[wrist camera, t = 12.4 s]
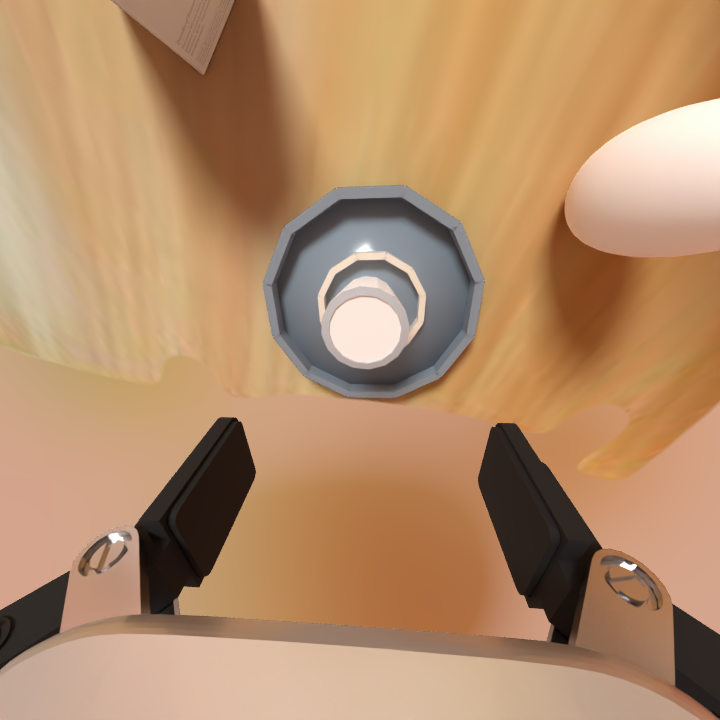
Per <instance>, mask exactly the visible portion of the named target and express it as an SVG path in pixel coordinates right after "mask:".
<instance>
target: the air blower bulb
mask: <svg viewBox="0 0 720 720" xmlns="http://www.w3.org/2000/svg"><path fill="white" fill-rule="evenodd" d="M565 218H566V222H567V225H568V227H569V228H570V230H571V232H572V233H573V235H574V236H575V237H577V238H578V239H579V240H580V241H581V242H583V243H584V244H586V245H588V246H590V247H592V248H595V249H597V250H600V251H603V252H607V253H611V254H617V255H622V256H629V257H676V256H686V255H694V254H700V253H707V252H713V251H718V250H720V98H719V99H714V100H710V101H705V102H701V103H697V104H692V105H688V106H685V107H681V108H678V109H675V110H672V111H669V112H666V113H663V114H661V115H658V116H656V117H654V118H651V119H649V120H646V121H644V122H641V123H639V124H637V125H635V126H633V127H631V128H629V129H628V130H626V131H624V132H623V133H621V134H619V135H618V136H616V137H614V138H613V139H611V140H610V141H608V142H607V143H606V144H604V145H603V146H602V147H601V148H600V149H598V150H597V151H596V152H595V153H594V154H592V155H591V156H590V157H589V158H588V160H587V161H586V162H585V163H584V164H583V166H582V167H581V168H580V169H579V171H578V172H577V174H576V175H575V177H574V179H573V180H572V182H571V184H570V187H569V189H568V192H567V195H566V199H565Z"/></svg>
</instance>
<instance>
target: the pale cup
mask: <svg viewBox="0 0 720 720" xmlns="http://www.w3.org/2000/svg"><path fill="white" fill-rule="evenodd" d="M409 329H410V326H409V322H408V318H407V314H406V310H405V309H404V307H403V306H402V304H401V303H400V301H399V300H398V298H397V296H396V295H395V293H394V292H393V291H392V289H391V288H390V287H389V285H388V284H387V283H386V282H384V281H382V280H380V279H379V278H377V277H369V276H364V277H360V278H357V279H354V280H353V281H352V282H350V283H349V284H348V285H347V286H346V287H345V288H344V289H343V290H342V291H341V292H340V293H339V294H338V295H337V296H336V297H335V298H334V299H333V300H332V301H331V302H330V303H329V304H328V306H327V308H326V310H325V312H324V315H323V317H322V330H321V335H322V337H323V340H324V342H325V345H326V347H327V349H328V350H329V351H330V352H331V353H332V355H333V356H334V357H335V358H336V359H337V360H338V361H340V362H342V363H344V364H346V365H348V366H351V367H353V368H361V369H373V368H377V367H381V366H385V365H386V364H388V363H389V362H391V361H392V360H394V359H395V358H396V357H398V356H399V354H400V353H401V351H402V350H403V348H404V347H405V345H406V344H407V340H408V334H409Z"/></svg>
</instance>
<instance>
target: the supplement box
mask: <svg viewBox="0 0 720 720" xmlns="http://www.w3.org/2000/svg"><path fill="white" fill-rule="evenodd" d="M111 1H113V2H114V3H115V4H116V5H118V6H119V7H120V8H121V9H122V10H124V11H125V12H126V13H127V14H129V15H130V16H131V17H132V18H133V19H135V20H136V21H137V22H138V23H140V24H141V25H142V26H143V27H145V28H146V29H147V30H148V31H149V32H151V33H152V34H153V35H154V36H156V37H157V38H158V39H159V40H161V41H162V42H163V43H164V44H166V45H167V46H168V47H169V48H170V49H172V50H173V51H174V52H175V53H177V54H178V55H179V56H180V57H181V58H183V59H184V60H185V61H186V62H188V63H189V64H190V65H191V66H192V67H194V68H195V69H196V70H197V71H198V72H199V73H201V74H202V75H204V74H205V71H206V69H207V67H208V65H209V62H210V60H211V58H212V55H213V53H214V50H215V48H216V45H217V42H218V40H219V38H220V36H221V33H222V31H223V28H224V26H225V23H226V21H227V18H228V16H229V14H230V11H231V9H232V6H233V3H234V1H235V0H111Z"/></svg>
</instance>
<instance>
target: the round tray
mask: <svg viewBox="0 0 720 720" xmlns="http://www.w3.org/2000/svg"><path fill="white" fill-rule="evenodd" d="M284 227H285V228H283V229H282V232H281V234H280V237H279V240H278V243H277V245H276V248H275V251H274V254H273V256H272V259H271V262H270V264H269V267H268V270H267V273H266V275H265V278H264V281H263V283H264V284H263V288H264V294H265V299H266V305H267V310H268V315H269V321H270V326H271V331H272V336H274V337H273V338H274V339H275V341H276V342H277V343H278V344H279V346H280V347H281V348H282V349H283V351H284V352H285V353H286V355H287V356H288V357H289V358H290V360H291V361H292V362H293V363H294V365H295V366H296V367H297V368H298V370H299V371H300V372H301V373H302V375H303V376H304V375H305V377H306V378H308V379H310V380H312V381H315V382H317V383H319V384H321V385H323V386H325V387H327V388H329V389H331V390H333V391H335V392H338V393H340V394H342V395H344V396H346V397H347V396H348V397H359V398H395V396H396V398H397V397H399V396H401V395H404V394H406V393H408V392H410V391H413V390H415V389H417V388H419V387H421V386H424V385H426V384H428V383H430V382H433V381H435V380H437V379H439V378H440V377H442V376H443V375H444V374H445V372H446V371H447V370H448V369H449V367H450V366H451V365H452V364H453V363H454V361H455V360H456V359H457V358H458V357H459V355H460V354H461V353H462V352H463V350H464V349H465V348H466V347H467V346H468V344H469V343H470V342H471V341H472V340H473V338H474V337H473V336H475V332H476V327H477V321H478V316H479V310H480V305H481V299H482V294H483V288H484V283H485V281H483V280H484V277H483V275H482V272H481V270H480V267H479V265H478V262H477V260H476V257H475V255H474V252H473V250H472V247H471V245H470V242H469V240H468V237H467V235H466V232H465V230H464V227H463V225H462V223H460V221H459V220H457V219H456V218H454V217H453V216H451V215H450V214H448V213H447V212H445V211H444V210H442V209H441V208H439V207H438V206H436V205H435V204H433V203H432V202H430V201H429V200H427V199H426V198H424V197H423V196H421V195H420V194H418V193H417V192H415V191H414V190H412V189H410V188H409V187H407V186H405V187H404V185H391V186H361V187H337V189H336V188H335V189H333V190H332V191H331V192H329V193H328V194H327V195H325V196H324V197H323V198H321V199H320V200H319V201H317V202H316V203H315V204H313V205H312V206H311V207H309V208H308V209H307V210H305V211H304V212H303V213H301V214H300V215H298V216H297V217H296V218H294V219H293V220H292V221H290V222H289V223H288V224H286V225H285V226H284ZM364 276H369V277H377V278H379V279H380V280H382V281H384V282H386V283H387V284H388V285H389V287H390V288H391V289H392V291H393V292H394V293H395V295H396V296H397V298H398V300H399V301H400V303H401V304H402V306H403V307H404V309H405V310H406V314H407V318H408V322H409V326H410V329H409V334H408V340H407V344H406V345H405V347H404V348H403V350H402V351H401V353H400V354H399V356H398V357H396V358H395V359H394V360H392V361H391V362H389V363H388V364H386V365H385V366H381V367H377V368H373V369H361V368H353V367H351V366H348V365H346V364H344V363H342V362H340V361H338V360H337V359H336V358H335V357H334V356H333V355H332V353H331V352H330V351H329V350H328V349H327V347H326V345H325V342H324V340H323V337H322V335H321V330H322V317H323V315H324V312H325V310H326V308H327V306H328V304H329V303H330V302H331V301H332V300H333V299H334V298H335V297H336V296H337V295H338V294H339V293H340V292H341V291H342V290H343V289H344V288H345V287H346V286H347V285H348V284H349V283H350V282H352V281H353V280H354V279H357V278H360V277H364Z"/></svg>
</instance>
